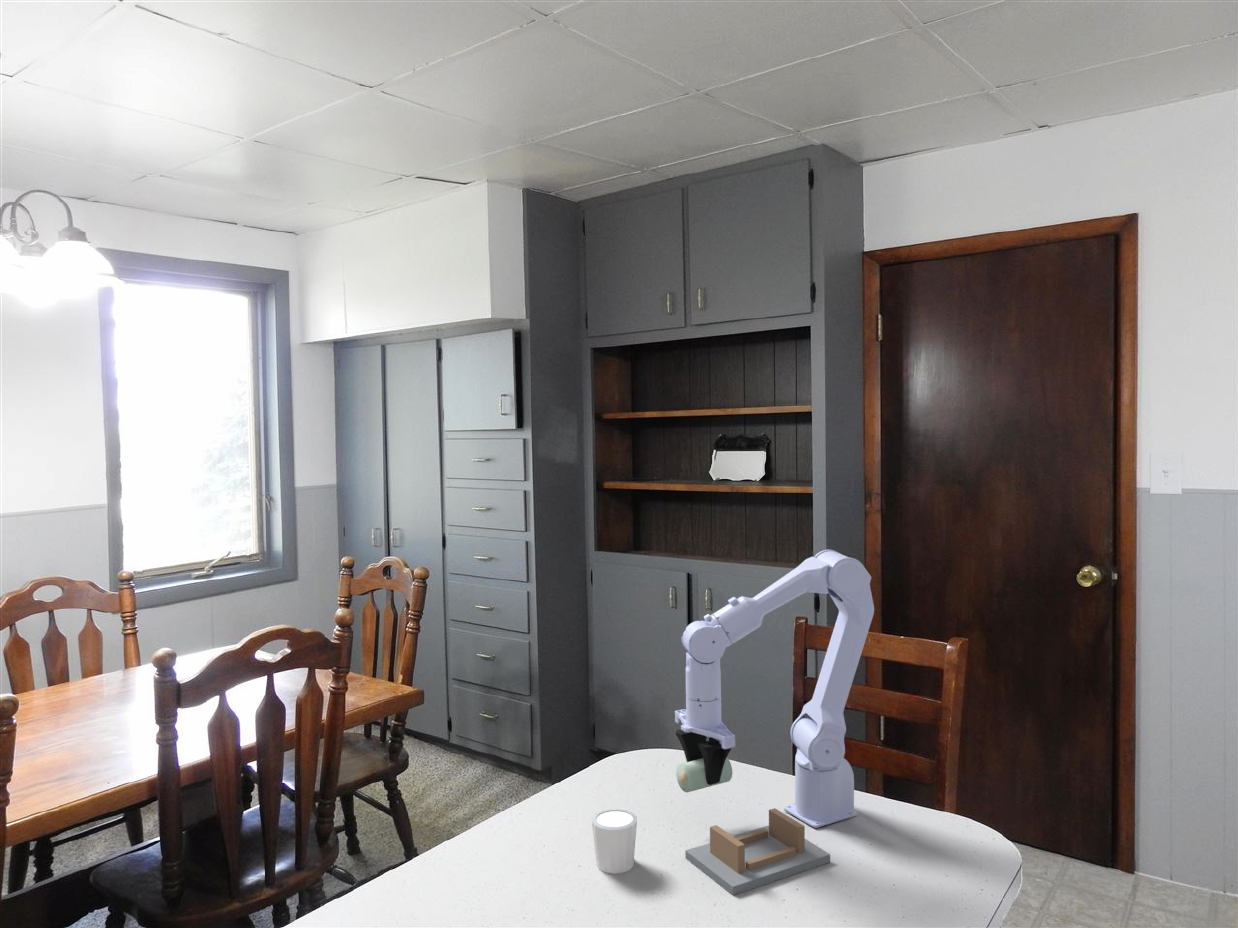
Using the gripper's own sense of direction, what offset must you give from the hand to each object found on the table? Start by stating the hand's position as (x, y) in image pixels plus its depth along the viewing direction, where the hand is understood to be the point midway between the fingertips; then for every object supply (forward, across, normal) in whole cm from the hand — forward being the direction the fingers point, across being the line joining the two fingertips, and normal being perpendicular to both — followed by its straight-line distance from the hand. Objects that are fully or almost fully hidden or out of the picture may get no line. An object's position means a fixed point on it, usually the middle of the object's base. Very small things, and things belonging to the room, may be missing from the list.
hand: (704, 777), depth 145 cm
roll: (+2, 0, 0) cm, 2 cm away
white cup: (+8, +4, -19) cm, 21 cm away
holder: (+8, +14, 0) cm, 16 cm away
